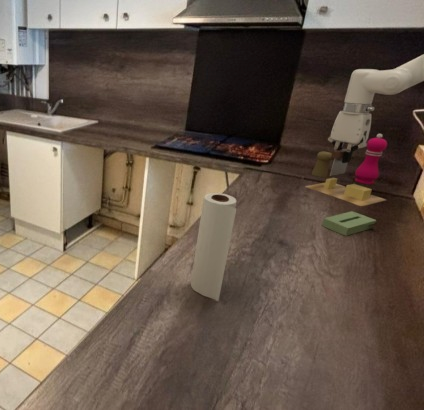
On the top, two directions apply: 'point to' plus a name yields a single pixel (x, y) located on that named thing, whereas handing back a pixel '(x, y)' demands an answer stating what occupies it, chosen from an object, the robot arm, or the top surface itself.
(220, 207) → the paper towel roll
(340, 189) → the board
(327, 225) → the stand
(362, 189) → the butter block
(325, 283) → the top surface
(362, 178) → the pepper mill
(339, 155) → the scraper
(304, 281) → the top surface
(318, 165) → the cork
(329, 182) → the butter pat
